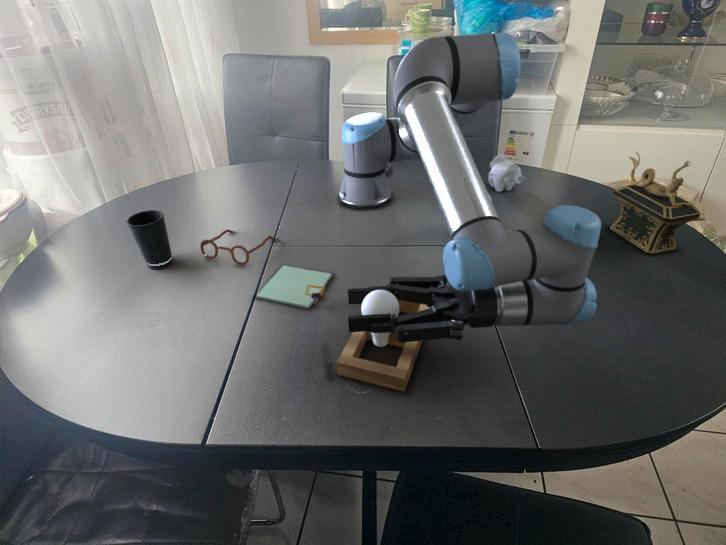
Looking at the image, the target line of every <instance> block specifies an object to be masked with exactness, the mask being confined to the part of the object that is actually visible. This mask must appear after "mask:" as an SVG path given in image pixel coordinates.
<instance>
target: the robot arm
mask: <svg viewBox="0 0 726 545" xmlns="http://www.w3.org/2000/svg"><path fill="white" fill-rule="evenodd" d="M521 62H522V61H521V53H520V48H519V44H518V42H517V40H516V39H515V38H514V37H513V36H512V35H511V34H510V33H507V32H496V31H492V32H491V33H479V34H463V35H462V34H461V35H447V36H446V35H445V36H432V37H428V38H426V39H423V40H422V41H420V42H418V43H416V44H415V45H414V46H412V48H410V49H409V50H408V52H407V53H406V54H405V56H403V58H402V60H401V61H400V63H399V65H398V67H397V70H396V72H395V76H394V81H393V86H392V88H393V89H392V96H393V104H394V107H395V111H396V112H397V115H398V117H391V118H390V117H389V118H386V117H385V115H384V114H383V113H380V112H366V113H361V114H357V115H354V116H352V117H351V118H348V119H347V120H345V121H344V123H343V124H342V129H341V130H342V134H341V135H342V136H341V143H342V153H343V154H342V157H343V172H344V174H343V178H342V182H341V185H340V189H339V192H338V196H339V197H338V198H339V201H340V203H341V204H342V205H343V206H345V207H348V208H351V209H355V210H372V209H373V210H374V209H379V208H382V207H383V206H386V205H388V204H389V203H390V202H391V200H392V190H391V189H392V188H391V186H390V182H389V180H388V177H387V174H389V172H391V170H392V166H391V163H393V162H403V161H410V160H411V161H413V160H421V162H422V165H423V168H424V170H425V173H426V175H427V179H428V181H429V184H430V187H431V188H432V191H433V194H434V197H435V199H436V202H437V204H438V207H439V210H440V212H441V215H442V217H443V220H444V223H445V225H446V228H447V230H448V233H449V236H450V239H451V240H450V241H448V242H447V243H446V244H445V246H444V248H443V252H442V263H443V266H444V274H442V275H436V276H392V277H390V279H389V283H388V284H387V285H379V286H368V287H359V288H347V299H348V300H347V303H348V305H362V302H363V300H364V298H365V297H366V296H367V295H368V294H369V293H370V292H372V291H375V290H386V291H389V292H390V293H392V294H393V295H394V296H395V297H396V299H397V300H399V301H405V302H412V303H418V304H425V305H427V307H429V309H425V310H421V311H417V312H414V313H406V314H402V315H398V317H396V315H395V314H393V315H392V320H391V314H376V315H362V314H360V315H359V314H357V315H348V316H347V322H348V324H347V325H348V333H353V332H366V331H371V333H393V334H395V335H396V337H397V341H398V342H400V343H403V342H413V341H422V342H423V341H431V340H444V339H450V340H457V341H461V340H463V336H464V328H465V326H468V327H470V328H472V329H477V328H481V329H482V328H492V327H493V326H494V325H495V326H496V327H517V326H546V325H547V326H549V325H561V326H566V325H569V324H578V323H585V322H587V321H589V320H591V319H592V318H593V316H594V315H595V313H596V310H597V306H598V305H597V302H596V301H597V299H598V294H597V290H596V287H595V285H594V283H593V282H592V280H591V279H589V278H588V277H587V276H588V273H589V271H590V267H591V265H592V264H591V263H592V261H593V258H594V255H595V252H596V250H597V248H598V245H599V244H598V243H599V239H600V235H601V231H602V230H601V229H602V221H601V219H600V217H599V216H598V215H597V214H596V213H594V212H592V210H590V209H587V208H584V207H581V206H577V205H571V204H569V205H568V204H563V205H558V206H554V207H553V208H551V209H549V210H548V211H547V212H546V215H545V217H544V219H543V224H542V225H540V226H539V225H538V226H533V227H527V228H523V229H522V228H521V229H514V230H508V231H506V230H505V228H504V225H503V224H502V222H501V219H500V218H499V215H498V213H497V211H496V208H495V206H494V204H493V200H492V201H491V199H492V198H491V199H490V197H491V196H490V194H489V192H488V189H487V187H486V185H485V183H484V181H483V179H482V177H481V174H480V172H479V169H478V167H477V165H476V163H475V160H474V157H473V155H472V153H471V151H470V149H469V147H468V146H469V145H468V144H467V141H466V139H465V137H464V134H463V133H462V130H461V129H460V126H459V124H458V122H457V120H458V119H459V118H460V117H461V116H462V115H463V116H466V115H467V116H468V115H472V114H474V113H476V112H477V111H479V110H480V109H481V108H483V107H484V106H485V105H486V104H488V103H490V102H496V101H498V102H502V101H506V100H509V99H511V98H512V97H513V96H514V94H515V93H516V92H517V89H518V86H519V83H520V77H521V71H522V70H521V69H522V68H521V67H522V64H521ZM386 166H387V170H386ZM489 196H490V197H489ZM405 333H407V334H405Z"/></svg>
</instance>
